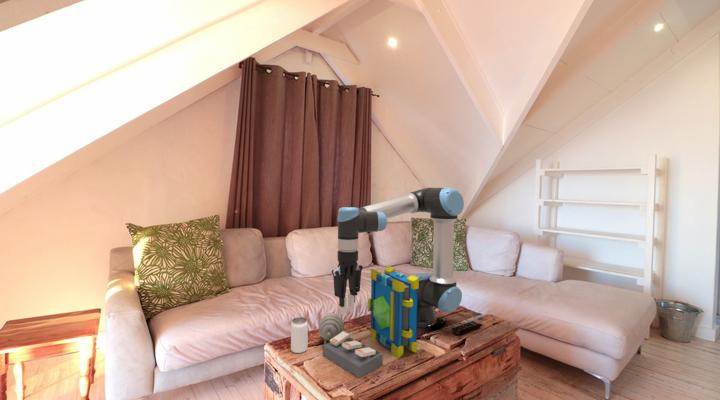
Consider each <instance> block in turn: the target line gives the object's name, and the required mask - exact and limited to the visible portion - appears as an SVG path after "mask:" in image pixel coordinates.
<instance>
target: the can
mask: <svg viewBox="0 0 720 400" xmlns="http://www.w3.org/2000/svg"><path fill="white" fill-rule="evenodd" d="M291 321H292V322H291V323H290V350H291V352H292V353H294V354H303V353H306V352H307V351H308V344H309V343H308V342H309V340H308V334H309V333H308V330H309V329H308V321H307V318H306V317H303V316H300V317H299V316H297V317H294V318H293V319H292V320H291Z"/></svg>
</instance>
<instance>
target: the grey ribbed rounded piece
mask: <svg viewBox="0 0 720 400" xmlns="http://www.w3.org/2000/svg"><path fill="white" fill-rule="evenodd" d="M344 329H345V324H344V321H343V319H342V317H341V316H340V315H338V314H337V313H335V312H330V313H327V314H326V315H324V316H323V317H322V318H321V320H320V321H319V323H318V332H319V336H321V338H322V339H323V345H325V344H327V343H328V342H330V340H331V339H332V338H334V337H335V336H337V335H338V334H340V333H341V332H343V331H344Z"/></svg>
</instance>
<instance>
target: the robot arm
mask: <svg viewBox="0 0 720 400" xmlns="http://www.w3.org/2000/svg"><path fill="white" fill-rule="evenodd" d="M464 204H465V202H464V197H463V194H462V193H461V192H460V191H459V190H457V189H455V188H453V187H424V188H421V189H418V190H414V191H411V192H407V193H406V194H405V195H404V196H400V197H397V198H392V199H389V200H385V201H381V202H378V203H374V204H373V203H372V204H370V205H366V206H362V207H354V206H353V207H351V206H347V207H346V206H344V207H340V208H339V209H338V211H337V249H338V250H337V262H338V264H337V268H336V269H332V270H331V274H332V276H333V278H332V279H333V289H334V290H333V291H334V296H335V297H337V298H338V300H339V301H338V305H339V308H340V310H339V311H340V312H339V314H340V315H341V316H344V317H347V315H348V313H351V314H355V303H356V296H358V295H359V292H360V291H361V281H362V278H361V277H362V270H363V267H364V266H363V265H360V264H359V263H358V261H359V234H361V233H375V232H376V233H378V232H382V231H384V230H385V229H386V228H387V225H388V219H390V218H393V217H397V216H401V215H404V214H408V213H410V214H415V213H429V215H430V219H431V221H433V259H432V261H433V263H432V265H433V266H432V267H433V268H432V273H429V272H418V273H413V274H411V275H413V276H416V277H418V278H419V289H418V292H417V328H422V329H423V328H426V327H427V326H428V325H429V324H432V323H434V322H436V320H437V315H436V312H435V311H436V310H435V308H436V309H437V310H439V311H442V312H445V313H452V312H454V311H456V309H457V308H458V307H459V306H460V304H461V302H462V300H463V299H462V298H463V292H462V290H461V289H460V288H459V287H458V286H457V279H456V278H455V277H454V241H455V239H454V237H455V236H454V235H455V232H454V231H455V223H456V221H457V220H458V218H459V217H458V216H459V215H461V214H462V213H463V212H462V211H463V210H464V207H465V205H464ZM347 285H348V290H349V293H348V294H347V297H346V293H347Z"/></svg>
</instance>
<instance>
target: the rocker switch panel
mask: <svg viewBox="0 0 720 400" xmlns="http://www.w3.org/2000/svg"><path fill="white" fill-rule="evenodd" d="M350 341H357V340H355V339H354V338H352V337H349V338H347V339H346V340H345V341H343V342H342V343H344V342H350ZM358 342H359V343H361V344H362V347H360V348H356V349H349V350H348V349H346V348H344V347H343V346H342V343H340V344H339V345H338V346H335V345H333V344H331V343H330V342H327V344H325V345H324V344H323V345H322V356H323V357H324V358H326V359H327V358H328V359H327V360H329V361H331V362H332V361H333V364H335V363H336V365H337V366H339V367H341V368H342V369H344V370H345V371H346V372H349V373H350V374H351V375H353V376H355V377H357V378H358V379H360V378H362V377H364V376H365V375H367V374H369V373H371V372H372V371H375V370H376V369H378V368H380V367H382V366H383V365H384V364H383V363H384V361H383V359H384V358H383V357H384V354H383V353H381V352H379V351H378V350H376V349H373V348H371V347H370V346H367V345H366V344H364V343H362V342H360V341H358ZM367 347H369V348H371V349H373V350H375V351H376V353H375V354H374V355H369V356H365V357H361V356H359V355H357V354H355V350H357V349H362V348H367Z"/></svg>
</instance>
